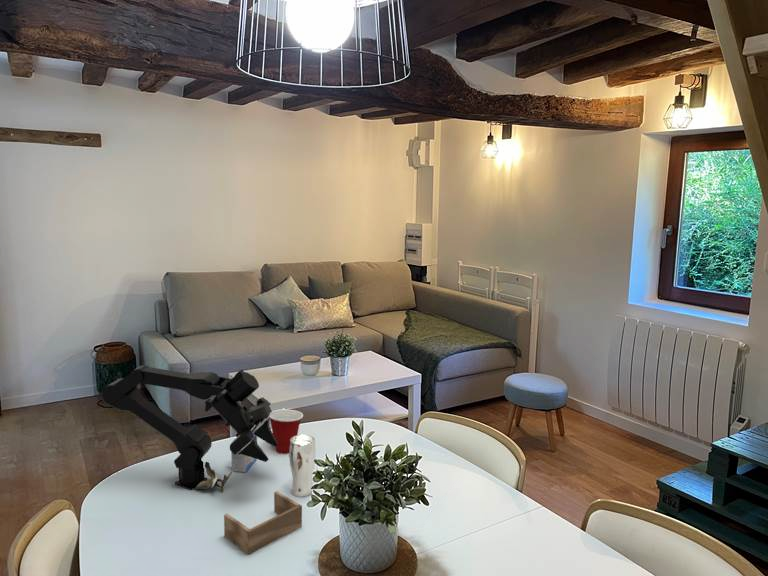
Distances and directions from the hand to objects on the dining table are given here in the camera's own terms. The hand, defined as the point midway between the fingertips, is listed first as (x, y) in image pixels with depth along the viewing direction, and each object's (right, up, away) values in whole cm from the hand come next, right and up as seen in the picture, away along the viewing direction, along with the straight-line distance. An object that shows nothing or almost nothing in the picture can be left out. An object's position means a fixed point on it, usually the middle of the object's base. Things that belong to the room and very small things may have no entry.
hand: (272, 452), depth 157 cm
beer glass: (+8, -11, +1) cm, 14 cm away
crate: (+1, -14, -18) cm, 22 cm away
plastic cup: (-1, -6, +26) cm, 26 cm away
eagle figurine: (-17, -10, +1) cm, 20 cm away
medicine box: (-11, -8, +14) cm, 20 cm away
